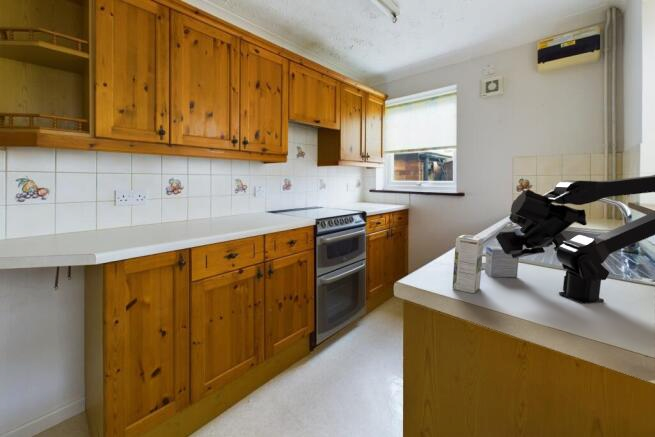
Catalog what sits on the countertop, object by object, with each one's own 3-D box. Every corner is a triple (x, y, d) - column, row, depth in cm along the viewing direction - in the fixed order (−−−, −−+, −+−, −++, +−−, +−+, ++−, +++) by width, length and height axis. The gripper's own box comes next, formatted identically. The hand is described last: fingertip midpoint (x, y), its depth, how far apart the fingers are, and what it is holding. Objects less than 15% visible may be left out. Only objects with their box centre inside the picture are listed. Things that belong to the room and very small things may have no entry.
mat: (497, 268, 101) (497, 267, 101) (470, 270, 99) (470, 269, 99) (484, 263, 107) (484, 262, 107) (458, 264, 106) (458, 264, 106)
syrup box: (458, 283, 87) (461, 233, 85) (480, 288, 83) (484, 236, 82) (452, 289, 83) (454, 237, 81) (475, 294, 79) (478, 239, 77)
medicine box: (510, 273, 96) (512, 246, 95) (517, 277, 92) (519, 249, 91) (484, 272, 97) (486, 246, 96) (490, 277, 93) (492, 249, 92)
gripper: (562, 200, 84) (525, 232, 96) (503, 202, 80) (473, 235, 92) (588, 233, 77) (546, 263, 89) (525, 236, 73) (490, 268, 86)
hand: (513, 256), depth 89 cm, fingers closed
